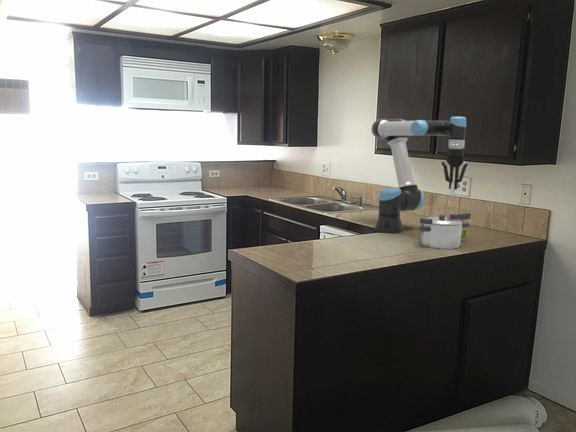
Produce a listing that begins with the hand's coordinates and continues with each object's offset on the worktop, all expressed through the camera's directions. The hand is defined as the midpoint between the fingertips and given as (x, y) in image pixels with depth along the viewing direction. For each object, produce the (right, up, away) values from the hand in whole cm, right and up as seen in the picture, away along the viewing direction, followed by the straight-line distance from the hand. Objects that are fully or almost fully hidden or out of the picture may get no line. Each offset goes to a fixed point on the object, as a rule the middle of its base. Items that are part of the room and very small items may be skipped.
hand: (452, 195), depth 251 cm
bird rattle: (+7, -21, +14) cm, 26 cm away
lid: (-5, -13, -7) cm, 16 cm away
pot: (-6, -24, -6) cm, 25 cm away
